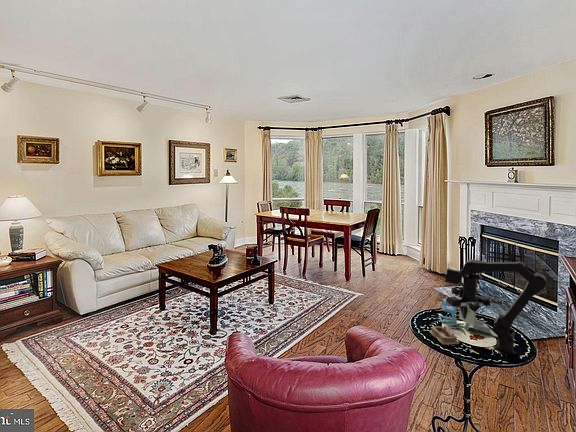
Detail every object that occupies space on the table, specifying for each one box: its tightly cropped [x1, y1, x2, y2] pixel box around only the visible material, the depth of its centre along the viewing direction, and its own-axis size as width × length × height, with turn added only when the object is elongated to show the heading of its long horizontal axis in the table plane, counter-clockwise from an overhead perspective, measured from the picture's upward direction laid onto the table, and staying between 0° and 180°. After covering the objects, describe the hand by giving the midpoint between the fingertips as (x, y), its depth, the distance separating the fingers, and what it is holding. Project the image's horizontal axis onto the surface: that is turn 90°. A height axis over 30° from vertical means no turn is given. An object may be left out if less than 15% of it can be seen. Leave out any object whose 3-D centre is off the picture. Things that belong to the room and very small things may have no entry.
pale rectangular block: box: [458, 307, 476, 325], centre depth 163 cm, size 8×3×6 cm, turn 6°
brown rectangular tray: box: [429, 325, 460, 345], centre depth 166 cm, size 12×8×4 cm, turn 6°
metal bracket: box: [463, 319, 498, 338], centre depth 176 cm, size 14×6×15 cm
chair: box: [438, 297, 458, 324], centre depth 185 cm, size 8×8×12 cm
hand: (466, 318), depth 163 cm, fingers closed on pale rectangular block, 2 cm apart
